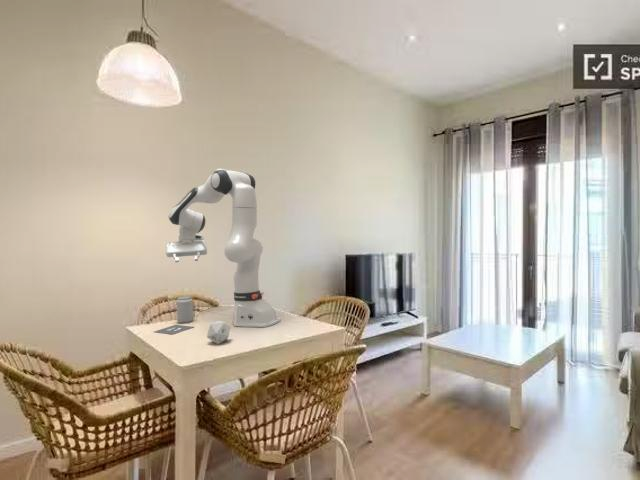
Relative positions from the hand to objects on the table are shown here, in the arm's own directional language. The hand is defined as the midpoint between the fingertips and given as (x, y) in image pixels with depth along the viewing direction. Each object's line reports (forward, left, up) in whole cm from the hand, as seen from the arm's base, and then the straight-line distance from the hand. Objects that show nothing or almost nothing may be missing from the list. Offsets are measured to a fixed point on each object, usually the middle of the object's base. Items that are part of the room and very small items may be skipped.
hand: (186, 260), depth 184 cm
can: (-7, +9, -29) cm, 31 cm away
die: (-47, +29, -29) cm, 62 cm away
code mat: (-14, +22, -29) cm, 38 cm away
